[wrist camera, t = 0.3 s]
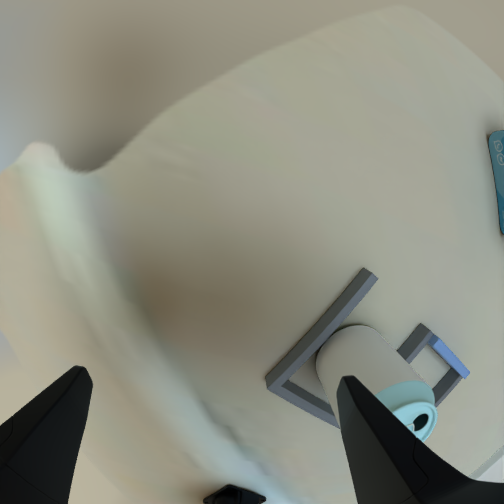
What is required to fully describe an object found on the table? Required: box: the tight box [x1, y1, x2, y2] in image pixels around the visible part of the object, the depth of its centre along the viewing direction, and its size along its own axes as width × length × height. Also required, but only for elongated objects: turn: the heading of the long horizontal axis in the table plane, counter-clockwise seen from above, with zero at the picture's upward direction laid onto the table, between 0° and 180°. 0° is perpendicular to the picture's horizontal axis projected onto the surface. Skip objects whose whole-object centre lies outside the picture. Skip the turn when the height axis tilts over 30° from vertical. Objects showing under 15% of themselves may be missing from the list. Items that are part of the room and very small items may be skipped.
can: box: [316, 325, 438, 442], centre depth 21 cm, size 7×7×12 cm
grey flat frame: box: [265, 268, 470, 429], centre depth 26 cm, size 14×20×3 cm
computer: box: [468, 446, 504, 483], centre depth 35 cm, size 22×22×3 cm
